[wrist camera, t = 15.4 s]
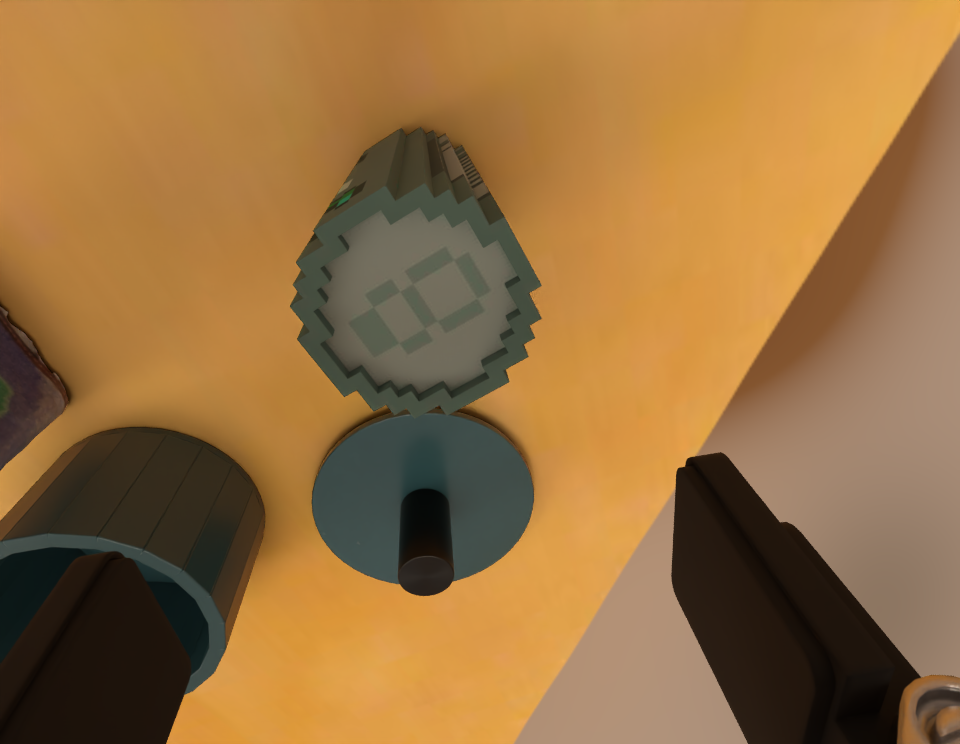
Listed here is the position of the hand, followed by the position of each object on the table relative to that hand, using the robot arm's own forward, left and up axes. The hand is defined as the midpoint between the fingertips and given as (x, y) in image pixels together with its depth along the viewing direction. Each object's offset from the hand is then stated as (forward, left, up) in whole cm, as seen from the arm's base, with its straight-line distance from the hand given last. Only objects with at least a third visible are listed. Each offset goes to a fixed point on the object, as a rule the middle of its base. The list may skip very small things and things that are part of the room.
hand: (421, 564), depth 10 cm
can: (-2, 0, -22) cm, 22 cm away
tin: (+14, -19, -21) cm, 32 cm away
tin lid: (+16, -3, -21) cm, 26 cm away
